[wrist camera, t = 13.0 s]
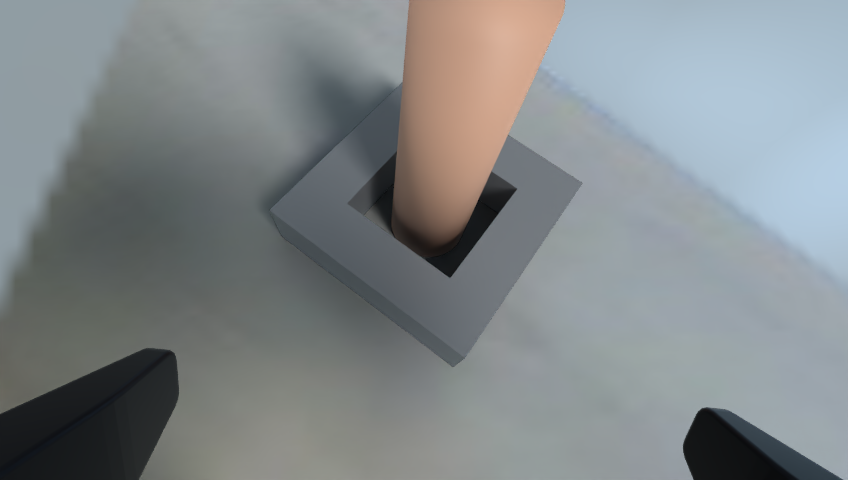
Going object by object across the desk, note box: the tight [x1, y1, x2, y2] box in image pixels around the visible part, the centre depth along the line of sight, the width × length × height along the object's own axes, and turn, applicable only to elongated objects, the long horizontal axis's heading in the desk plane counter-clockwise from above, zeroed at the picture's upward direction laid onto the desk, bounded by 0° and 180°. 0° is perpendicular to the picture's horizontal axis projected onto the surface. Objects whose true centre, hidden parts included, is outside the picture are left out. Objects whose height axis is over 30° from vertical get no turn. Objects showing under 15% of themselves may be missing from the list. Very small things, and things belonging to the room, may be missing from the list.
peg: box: [391, 0, 565, 257], centre depth 17 cm, size 4×4×14 cm
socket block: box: [269, 82, 582, 367], centre depth 22 cm, size 11×11×3 cm
